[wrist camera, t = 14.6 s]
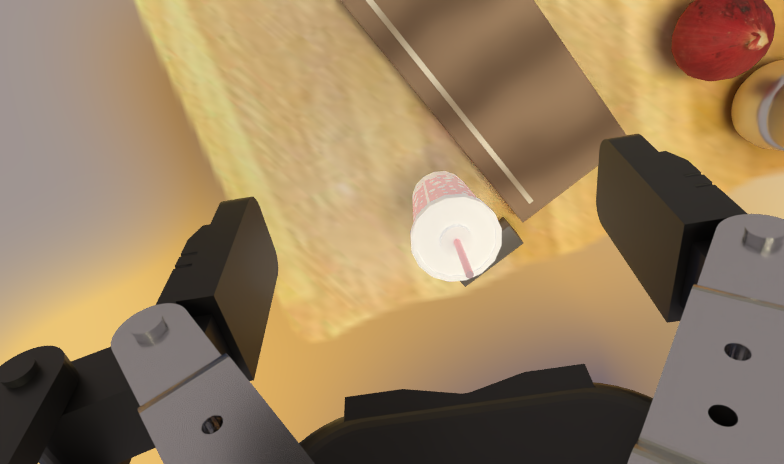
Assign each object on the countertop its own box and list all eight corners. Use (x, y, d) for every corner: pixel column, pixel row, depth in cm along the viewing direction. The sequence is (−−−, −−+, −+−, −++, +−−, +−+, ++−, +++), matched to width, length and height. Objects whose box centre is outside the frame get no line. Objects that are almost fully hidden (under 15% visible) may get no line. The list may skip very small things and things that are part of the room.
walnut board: (266, 62, 39) (260, 64, 37) (446, -113, 35) (451, -121, 33) (461, 276, 46) (465, 287, 44) (628, 149, 42) (641, 155, 40)
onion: (652, -2, 38) (720, -7, 31) (732, -15, 38) (820, -23, 30) (649, 80, 40) (712, 94, 33) (725, 68, 40) (805, 80, 33)
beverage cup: (431, 246, 45) (456, 338, 32) (387, 192, 43) (394, 267, 30) (491, 203, 44) (542, 282, 31) (448, 146, 42) (484, 204, 29)
